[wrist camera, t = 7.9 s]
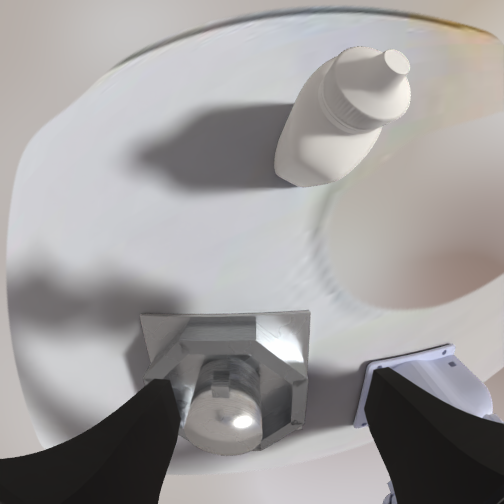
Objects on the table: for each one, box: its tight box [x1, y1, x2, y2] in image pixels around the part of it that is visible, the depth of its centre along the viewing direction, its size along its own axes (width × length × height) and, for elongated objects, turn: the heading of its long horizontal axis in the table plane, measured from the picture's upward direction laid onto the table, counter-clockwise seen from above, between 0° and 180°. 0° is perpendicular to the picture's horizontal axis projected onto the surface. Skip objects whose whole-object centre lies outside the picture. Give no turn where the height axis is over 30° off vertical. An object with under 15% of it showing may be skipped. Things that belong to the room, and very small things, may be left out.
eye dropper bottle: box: [274, 46, 411, 187], centre depth 10 cm, size 4×6×12 cm
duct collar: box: [140, 310, 310, 451], centre depth 18 cm, size 12×12×3 cm
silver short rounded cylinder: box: [184, 358, 263, 456], centre depth 16 cm, size 6×5×6 cm
